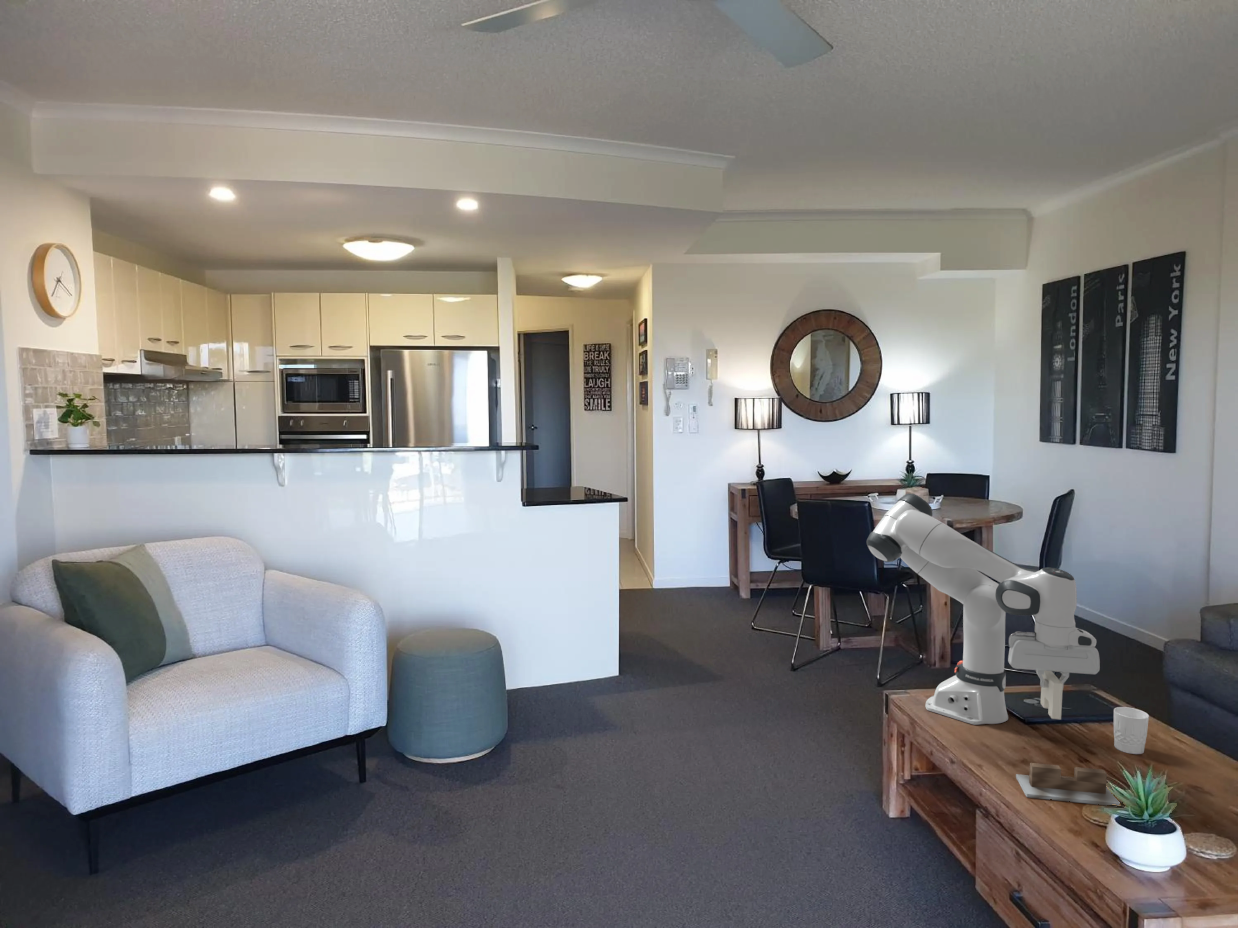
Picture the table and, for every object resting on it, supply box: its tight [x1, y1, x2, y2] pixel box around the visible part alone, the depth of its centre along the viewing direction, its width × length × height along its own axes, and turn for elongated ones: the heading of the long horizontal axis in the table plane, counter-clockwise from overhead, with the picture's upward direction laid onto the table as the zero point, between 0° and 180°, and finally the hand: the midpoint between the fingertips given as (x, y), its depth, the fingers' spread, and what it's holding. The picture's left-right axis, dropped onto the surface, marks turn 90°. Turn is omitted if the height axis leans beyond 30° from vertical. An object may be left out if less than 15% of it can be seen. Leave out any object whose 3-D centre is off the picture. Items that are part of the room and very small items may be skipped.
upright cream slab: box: [1040, 671, 1064, 720], centre depth 200 cm, size 10×2×9 cm, turn 167°
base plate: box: [1015, 762, 1121, 806], centre depth 190 cm, size 20×10×6 cm, turn 77°
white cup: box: [1113, 706, 1150, 755], centre depth 212 cm, size 8×8×10 cm
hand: (1051, 687), depth 200 cm, fingers closed on upright cream slab, 2 cm apart
